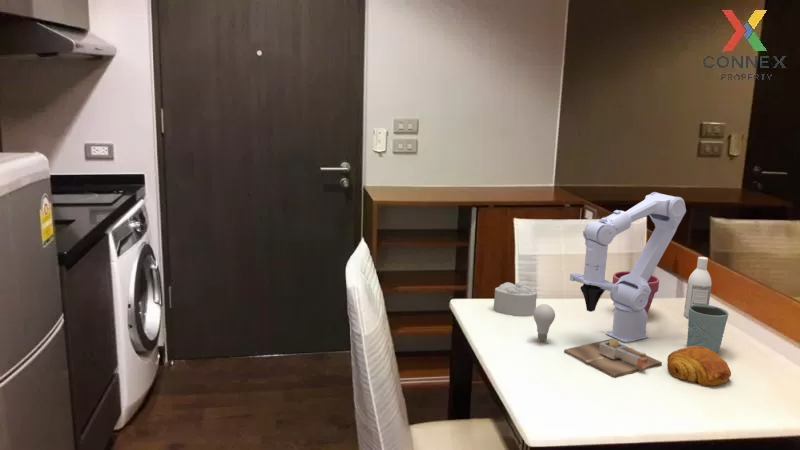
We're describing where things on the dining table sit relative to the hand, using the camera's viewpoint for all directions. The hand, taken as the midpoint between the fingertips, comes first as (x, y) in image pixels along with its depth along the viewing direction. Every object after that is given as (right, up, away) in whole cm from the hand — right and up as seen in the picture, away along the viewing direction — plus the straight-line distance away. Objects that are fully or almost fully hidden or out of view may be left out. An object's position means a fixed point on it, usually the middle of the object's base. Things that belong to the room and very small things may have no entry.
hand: (590, 310), depth 190 cm
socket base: (+3, -12, -8) cm, 15 cm away
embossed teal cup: (+32, -11, 0) cm, 34 cm away
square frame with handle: (+6, -12, -12) cm, 17 cm away
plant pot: (+21, -5, +28) cm, 36 cm away
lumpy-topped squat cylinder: (-17, -4, +28) cm, 33 cm away
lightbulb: (-13, -9, +3) cm, 16 cm away
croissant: (+23, -15, -17) cm, 32 cm away
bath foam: (+42, -6, +27) cm, 50 cm away
